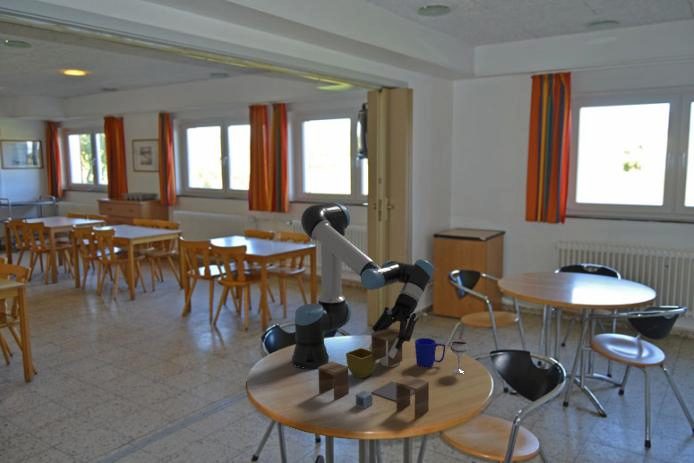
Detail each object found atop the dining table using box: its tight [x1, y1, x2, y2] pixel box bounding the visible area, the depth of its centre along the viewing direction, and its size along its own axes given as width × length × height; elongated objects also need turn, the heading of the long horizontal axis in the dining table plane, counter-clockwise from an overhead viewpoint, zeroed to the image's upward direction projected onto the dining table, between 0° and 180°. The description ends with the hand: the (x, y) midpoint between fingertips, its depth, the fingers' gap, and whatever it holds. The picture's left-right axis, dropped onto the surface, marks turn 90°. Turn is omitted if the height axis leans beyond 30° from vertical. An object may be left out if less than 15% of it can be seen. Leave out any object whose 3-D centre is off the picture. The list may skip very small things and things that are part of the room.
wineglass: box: [449, 338, 469, 374], centre depth 209 cm, size 7×7×12 cm
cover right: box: [395, 375, 430, 419], centre depth 177 cm, size 8×7×10 cm
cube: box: [355, 390, 373, 410], centre depth 182 cm, size 4×4×4 cm
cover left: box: [317, 361, 350, 401], centre depth 191 cm, size 8×7×10 cm
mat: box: [371, 380, 415, 402], centre depth 192 cm, size 12×12×1 cm
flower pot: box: [345, 347, 377, 379], centre depth 207 cm, size 9×9×9 cm
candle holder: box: [379, 341, 401, 368], centre depth 219 cm, size 10×10×12 cm
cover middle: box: [370, 328, 403, 368], centre depth 187 cm, size 8×7×10 cm
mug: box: [414, 337, 446, 368], centre depth 216 cm, size 8×12×10 cm
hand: (380, 353), depth 185 cm, fingers closed on cover middle, 8 cm apart
